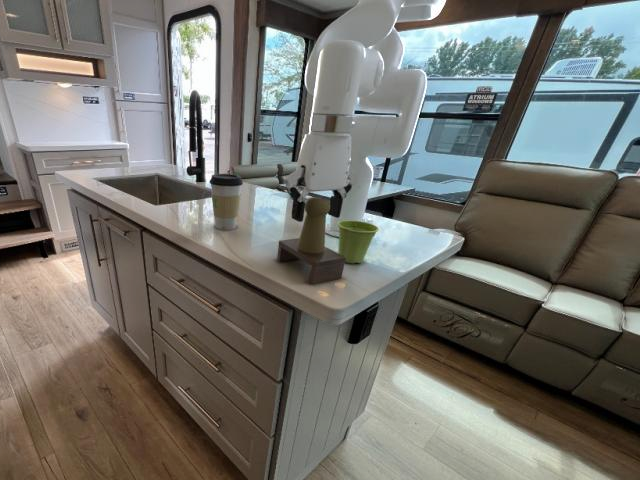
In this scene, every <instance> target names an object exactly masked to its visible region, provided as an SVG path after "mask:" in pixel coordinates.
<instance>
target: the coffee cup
mask: <svg viewBox="0 0 640 480" xmlns="http://www.w3.org/2000/svg"><path fill="white" fill-rule="evenodd" d="M209 184H210V190H211V192H210V193H211V194H210V195H211V201H212V202H211V203H212V213H213V217H214V224H215V225H214V226H215V229H218V230H223V231H231V230H234V229H236V225H237V218H238V213H239V208H240V200H241V195H242V194H241V192H242V191H241V190H242V185H243V184H244V182H243V180H242V176H241V175H239V174H232V173H215V174H212V175H211V177H210V179H209Z"/></svg>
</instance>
